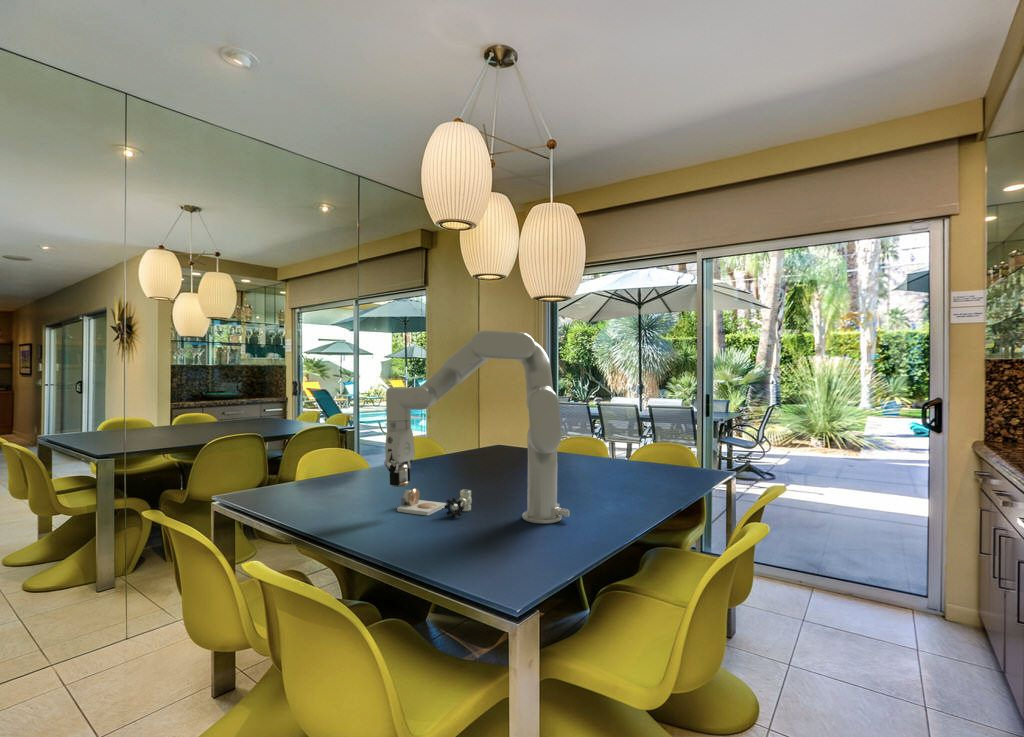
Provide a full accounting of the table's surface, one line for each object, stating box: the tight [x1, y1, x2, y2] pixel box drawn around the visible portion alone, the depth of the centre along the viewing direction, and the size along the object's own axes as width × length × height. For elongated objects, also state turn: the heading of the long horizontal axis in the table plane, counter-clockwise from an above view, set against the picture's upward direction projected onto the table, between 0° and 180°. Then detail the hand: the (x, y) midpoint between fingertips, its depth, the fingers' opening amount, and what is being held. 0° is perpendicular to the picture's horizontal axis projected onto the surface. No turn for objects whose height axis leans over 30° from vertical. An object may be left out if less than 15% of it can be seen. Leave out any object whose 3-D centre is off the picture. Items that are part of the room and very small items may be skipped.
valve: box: [443, 489, 473, 519], centre depth 166 cm, size 7×7×12 cm
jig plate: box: [396, 499, 447, 517], centre depth 170 cm, size 12×12×1 cm
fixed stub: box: [400, 488, 421, 506], centre depth 172 cm, size 4×6×7 cm, turn 158°
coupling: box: [391, 463, 409, 488], centre depth 159 cm, size 5×5×6 cm
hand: (400, 482), depth 159 cm, fingers closed on coupling, 5 cm apart
